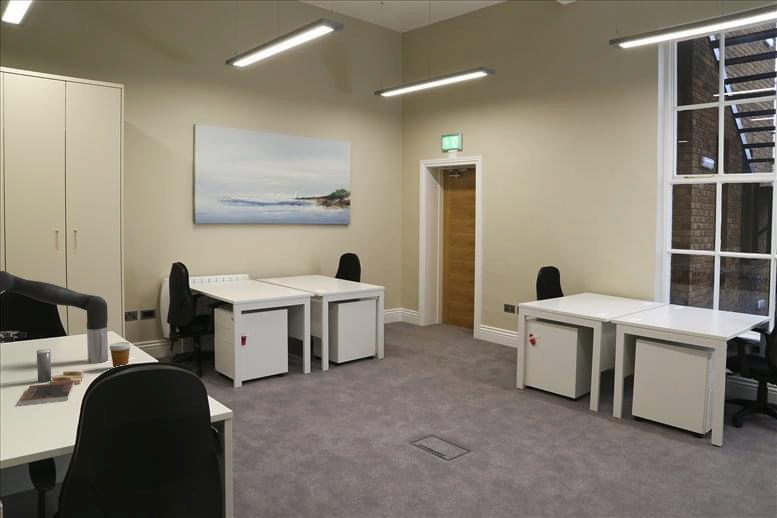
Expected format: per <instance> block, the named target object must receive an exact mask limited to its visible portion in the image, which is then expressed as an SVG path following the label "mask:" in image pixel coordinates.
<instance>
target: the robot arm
mask: <svg viewBox="0 0 777 518" xmlns="http://www.w3.org/2000/svg"><path fill="white" fill-rule="evenodd" d="M3 292H7V293H8V292H9V293H14V294H15V293H16V294H20V295H23V296H25V297H28V298H29V299H30V298H31V299H34V300H36V301H39V302H43V303H47V304H51V305H57V306H66V307H74V308H77V309H82V310H84V311H86V335H87V336H86V339H87V340H86V342H87V344H86V345H87V362H88V363H90V364H99V363H100V362H101V363H104V362H107V361H109V346H108V345H109V342H108V338H109V337H108V318H109V317H108V303H107V302H106V300H105V299H104V298H103V297H101V296H98V295H93V294H88V293H87V294H86V293H81V292H78V291H74V290H72V289H69V288H66V287H64V286H60V285H57V284H54V283H53V284H52V283H50V282H44V281H39V280H31V279H25V278H22V277H21V276H16V275H13V274H11V273H9V272H7V271H5V270H0V294H1V293H3ZM27 337H28V335H27V332H20V330H6V331H0V343H14V342H15V339H16V338H18V339H19V338H22V339H24V338H27ZM101 363H100V364H101Z"/></svg>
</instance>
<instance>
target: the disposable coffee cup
mask: <svg viewBox="0 0 777 518" xmlns="http://www.w3.org/2000/svg"><path fill="white" fill-rule="evenodd" d="M131 346H132V345H131V344H130V342H127V341H123V342H121V341H120V342H114V343H110V345H109V346H108V349H109V351H110V355H111V362H112V366H113V367H116V366H120V365H126V364H128V365H129V361H130V360H129V359H130V352H131V351H130V349H131Z"/></svg>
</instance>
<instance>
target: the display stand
mask: <svg viewBox="0 0 777 518" xmlns="http://www.w3.org/2000/svg"><path fill="white" fill-rule="evenodd" d="M83 372H84V371H83V370H79V371H78V370H77V371H76V370H75V371H73V370H72V371H69V370H66V371H65V370H64V371H63V373H62V375H55V376H53V377H52V376H51V381H50V382H51V383H50V384H53V383H64V382H74V386H76V385H81V383H82V381H83V380H84V373H83ZM82 379H83V380H82Z"/></svg>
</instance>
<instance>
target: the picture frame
mask: <svg viewBox="0 0 777 518" xmlns="http://www.w3.org/2000/svg"><path fill="white" fill-rule="evenodd" d="M74 386H75V385H74V382H64V383H53V384H51V383H46V384H45V383H44V384H36V385H29V386H28V388H27V390H26V392H25V393H24V394H23V396H22V397H21V399H20V401H19V406H20V405H23V406H29V404H30V406H31V404H32V405H39V403H41V404H48V403H47V402H51V403H57V402H56V401H60V402H68V401H69V399H70V396H71V393H72V392H73V388H74ZM67 400H68V401H67Z"/></svg>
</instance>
